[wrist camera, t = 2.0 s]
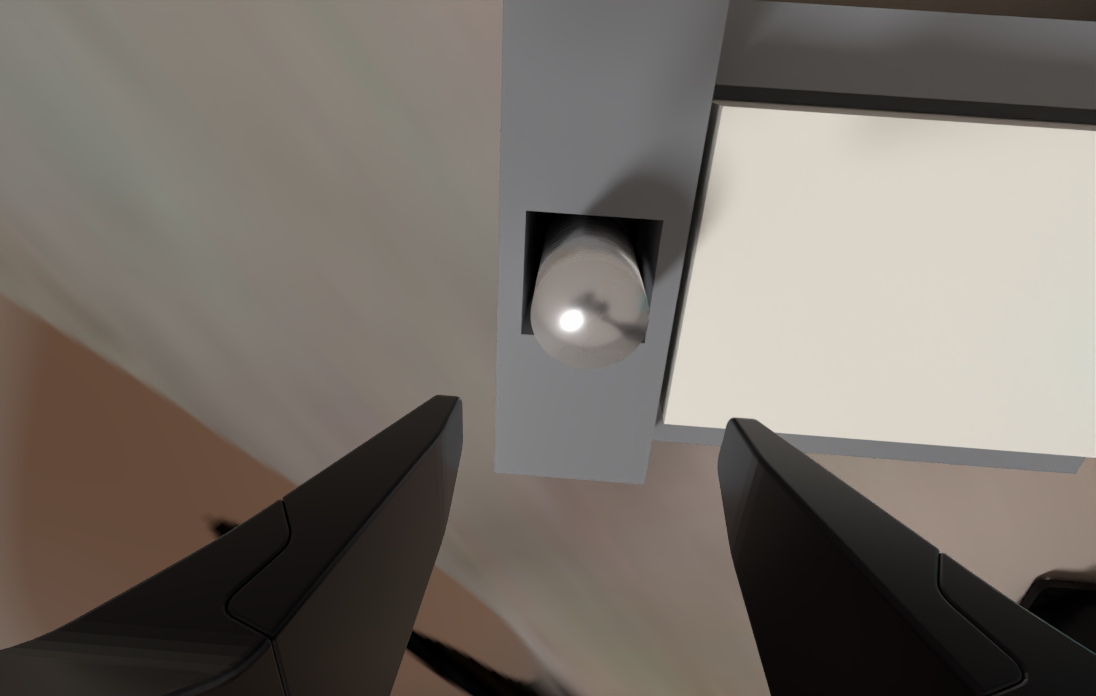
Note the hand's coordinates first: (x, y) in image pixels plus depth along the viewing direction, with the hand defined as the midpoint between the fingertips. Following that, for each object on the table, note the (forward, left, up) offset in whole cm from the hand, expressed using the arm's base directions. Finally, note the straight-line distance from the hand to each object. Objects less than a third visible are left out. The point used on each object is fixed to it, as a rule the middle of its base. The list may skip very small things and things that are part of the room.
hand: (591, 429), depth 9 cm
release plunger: (0, 0, -10) cm, 10 cm away
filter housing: (-8, 0, -12) cm, 14 cm away
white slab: (-11, 0, -11) cm, 15 cm away
